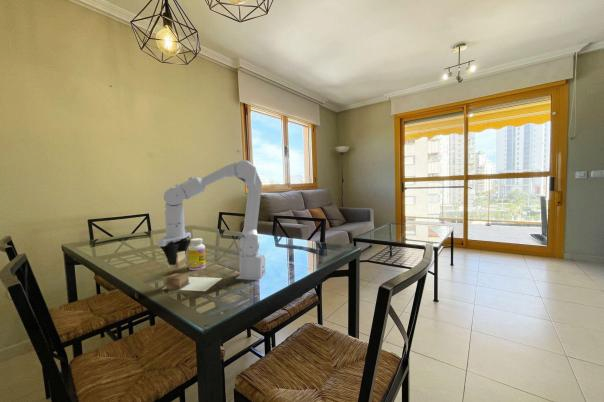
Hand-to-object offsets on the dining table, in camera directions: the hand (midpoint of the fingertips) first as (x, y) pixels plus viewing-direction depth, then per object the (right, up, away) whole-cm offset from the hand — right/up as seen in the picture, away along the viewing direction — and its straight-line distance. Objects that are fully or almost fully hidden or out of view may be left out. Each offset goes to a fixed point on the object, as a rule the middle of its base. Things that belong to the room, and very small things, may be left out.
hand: (176, 262), depth 86 cm
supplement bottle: (-2, -8, +21) cm, 22 cm away
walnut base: (0, -8, 0) cm, 8 cm away
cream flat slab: (+5, -9, +3) cm, 10 cm away
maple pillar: (0, -2, 0) cm, 2 cm away
